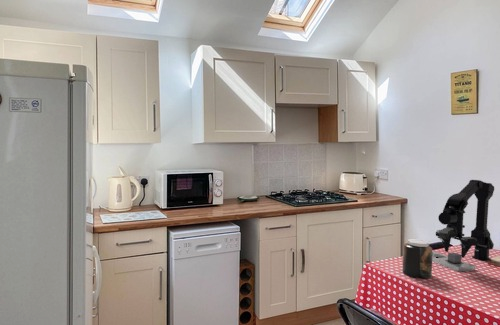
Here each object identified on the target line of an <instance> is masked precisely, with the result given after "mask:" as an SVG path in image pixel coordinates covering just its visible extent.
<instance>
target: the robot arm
mask: <svg viewBox="0 0 500 325" xmlns="http://www.w3.org/2000/svg"><path fill="white" fill-rule="evenodd" d="M494 192H495V186H494V185H493V183H489V182H486V181H483V180H481V179H470V180H469V182H468V183H467V184H466V186H464V187H463V188H462V189H461V190H460V191H458V193H454V194H452V195H450V196H448V199H447V201H446V203H445V205H444V207H443V210H442V212H441V213H439V215H438V221H439V223H440V224H442V225H446V227H444V228H442V229H437V230H436V231H435V236H436V237H437V238H438V239H439V240H440V241H441V243H442V246H443V249H444V251H445V253H449V249H450V244H451V240H452V239H454V240H457V241H459V242H460V243H459V245H460V246H461V252H460V255H461V259H462V258H463V259H464V258H465V257H466V255H467V253H468V252H469V250H470V249H471V248H472V247H473V246H474V251H473V252H474V253H473V255H471V257H472V258H473V259H476V260H479V261H482V262H483V261H491V260H490V259H492V258H491V257H490V250H493V249H494V245H495V244H494V242H493V240H492V238H491V233H490V231H489V229H488V218H489V216H488V215H489V201H490V200H491V198H492V197H493V195H494ZM473 195H474V196H475V198H476V199H477V202H476V216H475V227H474V229H472V230H471V231H470V236H465V233H463V229H464V228H465V226H466V225H464V214H466V211H465V209H466V208H467V206H468V204H469V203H468V201H469V199H470V198H472V196H473Z"/></svg>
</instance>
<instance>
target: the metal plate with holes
mask: <svg viewBox="0 0 500 325" xmlns="http://www.w3.org/2000/svg"><path fill="white" fill-rule="evenodd" d="M432 253H433V254H432V261H433V262H432V263H434V264H435V263H436V264H437V263H438V265H439V266H443V267H445V268H448V269H451V270H453V271H456V272H460V273H462V272H467V271H468V272H469V271H475V270H476V265H474V264H471V263H468V262H467V261H463V260H461V264H452V263H450V262H448V255H446V254H442V253H440V252H437V251H433V250H432ZM436 257H438V258H436Z"/></svg>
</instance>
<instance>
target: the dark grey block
mask: <svg viewBox="0 0 500 325" xmlns="http://www.w3.org/2000/svg"><path fill="white" fill-rule="evenodd" d="M447 256H448V262H450V263H452V264H461V261H462V256H461V253H457V252H447Z"/></svg>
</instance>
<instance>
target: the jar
mask: <svg viewBox="0 0 500 325" xmlns="http://www.w3.org/2000/svg"><path fill="white" fill-rule="evenodd" d="M432 252H433V247H432V246H430V244H429V241H427V240H424V239H420V238H419V239H418V238H408V239H407V242H406V243H404V244H403V253H402V254H403V255H402V273H403V274H404V275H406V277H409V278H410V277H411V278H414V279H419V280H420V279H421V280H428V279H431V278H432V273H433V272H432V271H433V262H432V254H433V253H432Z"/></svg>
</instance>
